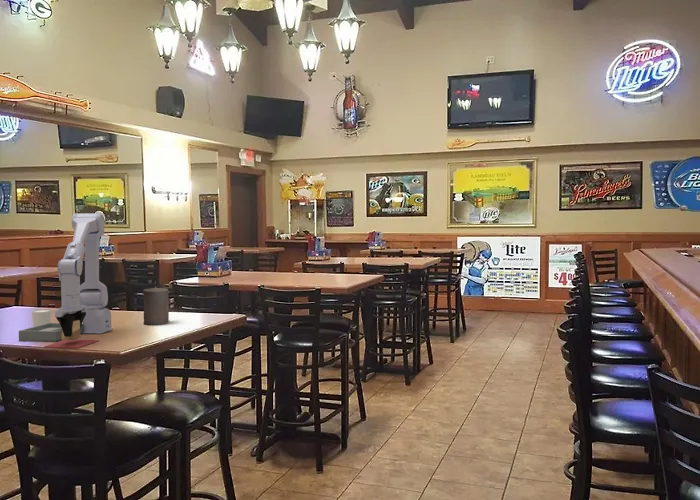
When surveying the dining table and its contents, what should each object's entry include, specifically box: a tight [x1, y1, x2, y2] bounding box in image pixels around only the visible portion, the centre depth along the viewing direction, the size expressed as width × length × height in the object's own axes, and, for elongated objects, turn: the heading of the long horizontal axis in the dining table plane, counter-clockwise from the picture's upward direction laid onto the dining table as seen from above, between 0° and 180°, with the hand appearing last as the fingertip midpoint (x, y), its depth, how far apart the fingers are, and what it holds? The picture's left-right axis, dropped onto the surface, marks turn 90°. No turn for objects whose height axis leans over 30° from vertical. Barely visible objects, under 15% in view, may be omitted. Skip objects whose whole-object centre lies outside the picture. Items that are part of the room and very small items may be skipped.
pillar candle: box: [142, 285, 170, 326], centre depth 240 cm, size 10×10×15 cm
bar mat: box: [43, 338, 100, 349], centre depth 200 cm, size 12×12×1 cm
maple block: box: [61, 320, 81, 341], centre depth 200 cm, size 4×4×6 cm
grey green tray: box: [18, 322, 84, 343], centre depth 213 cm, size 14×16×4 cm
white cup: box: [31, 309, 53, 327], centre depth 229 cm, size 7×7×7 cm
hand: (72, 335), depth 200 cm, fingers closed on maple block, 4 cm apart
